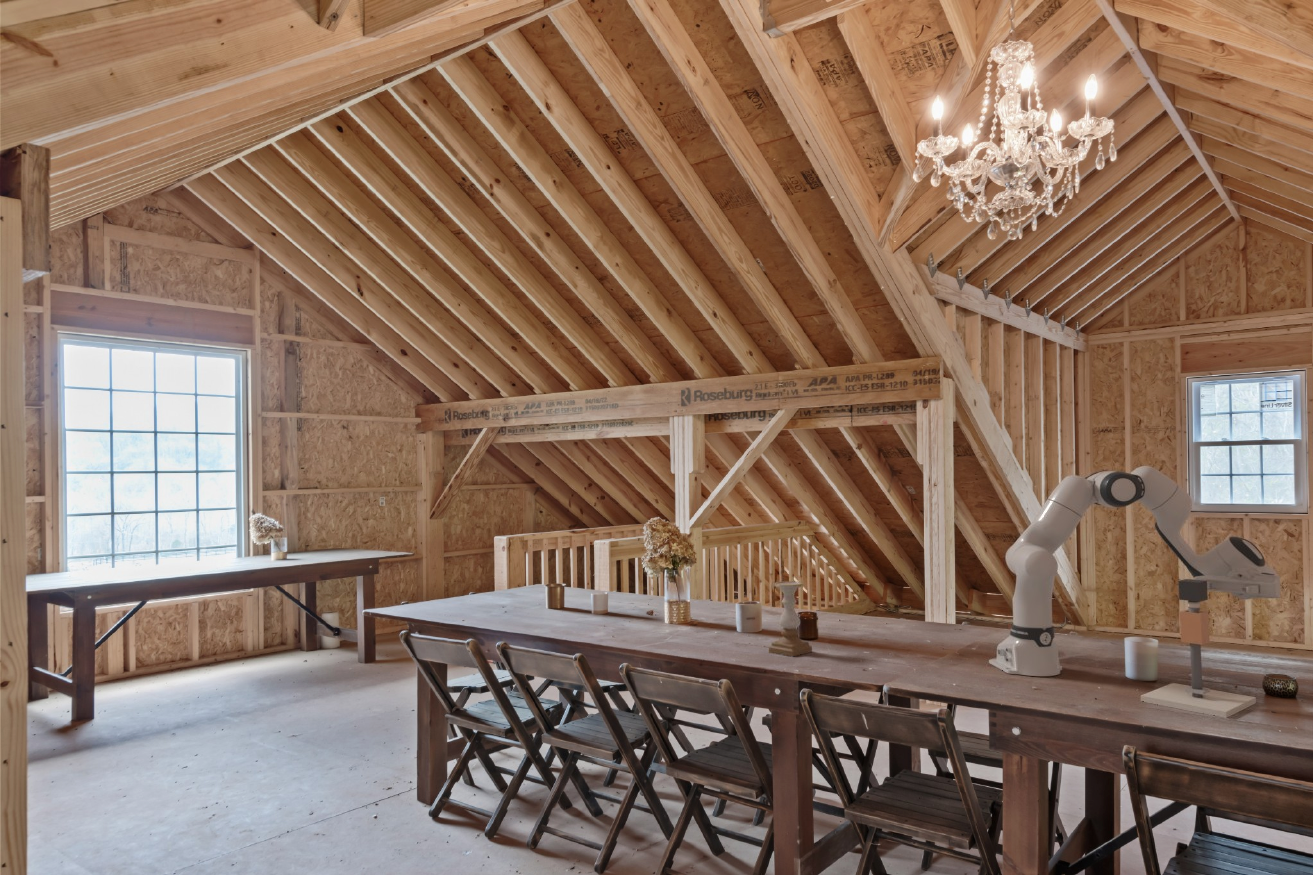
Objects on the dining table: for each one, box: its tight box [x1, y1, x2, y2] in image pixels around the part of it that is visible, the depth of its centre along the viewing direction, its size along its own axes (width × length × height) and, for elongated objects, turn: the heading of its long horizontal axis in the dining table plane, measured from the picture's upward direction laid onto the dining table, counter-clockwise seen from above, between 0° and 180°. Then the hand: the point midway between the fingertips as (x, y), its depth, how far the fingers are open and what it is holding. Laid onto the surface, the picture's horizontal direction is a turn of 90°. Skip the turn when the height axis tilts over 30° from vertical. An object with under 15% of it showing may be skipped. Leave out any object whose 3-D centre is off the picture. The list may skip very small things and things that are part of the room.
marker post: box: [1140, 578, 1257, 719], centre depth 224 cm, size 20×20×32 cm
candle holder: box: [768, 580, 813, 657], centre depth 294 cm, size 11×11×24 cm
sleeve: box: [1179, 608, 1210, 646], centre depth 224 cm, size 5×5×8 cm
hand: (1225, 588), depth 235 cm, fingers open, 8 cm apart
